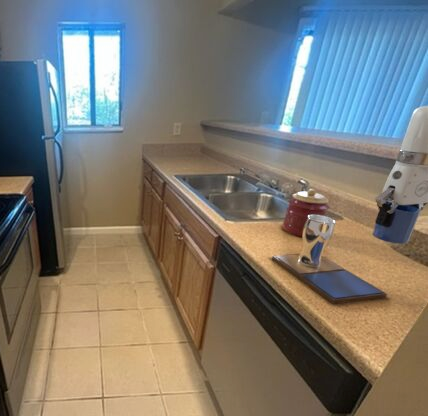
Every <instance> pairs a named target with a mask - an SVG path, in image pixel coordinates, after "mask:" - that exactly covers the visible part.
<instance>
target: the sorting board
mask: <svg viewBox="0 0 428 416" xmlns="http://www.w3.org/2000/svg"><path fill="white" fill-rule="evenodd" d="M299 254H300V253H290V254H279V255H272V257H271V260H272V261H274V263H276V264H278V265H279V266H280V267H282V268H283V269H284V270H285V271H287V272H288V273H290V274H291V275H293V276H294V277H295V278H297V279H298V280H299V281H301V282H302V283H304V284H305V285H306V286H307V287H309V288H310V289H312V290H313V291H314V292H316V293H317V294H318V295H320V296H321V297H322V298H324V299H325V300H326V301H328V302H329V303H330V304H332V305H334V304H342V303H350V302H351V303H353V302H358V301H359V302H360V301H367V300H376V299H384V298H387V296H388V293H386V292H385V291H383V290H381V289H380V288H378V287H376V286H374V285H373V284H371V283H369V282H367V281H366V280H365V279H363V278H361V277H359V276H358V275H356V274H354V273H352V272H351V271H349V270H347V269H346V268H344V267H342V266H340V265H338V264H337V263H335V262H334V261H332V260H330V259H329V258H327V257H325V256H324V255H322V257H321V266H320V267H309V266H305V265H303V264H301V263H300V262H298V260H297V258H298V256H299Z"/></svg>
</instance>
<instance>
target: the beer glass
mask: <svg viewBox="0 0 428 416" xmlns="http://www.w3.org/2000/svg"><path fill="white" fill-rule="evenodd" d="M336 222H337V221H336V220H335V219H334V218H332V217H330V216H328V215H327V216H323V215H309V216H308V218H307V221H306V223H305V226H304V229H303V235H302V237H301V249H300V252H299V253H298V254H299V256H298V258H297V260H298V262H300V263H301V264H303V265H305V266H309V267H320V266H321V257H322V256H323V254H324V252H325V251H326V248H327V247H328V245H329V243H330V242H331V240H332V238H333V234H334V231H335V225H336Z"/></svg>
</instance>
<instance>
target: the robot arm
mask: <svg viewBox="0 0 428 416" xmlns="http://www.w3.org/2000/svg"><path fill="white" fill-rule="evenodd" d="M399 149H400V150H399V152H398V154H397V157H396V160H395V164H394V165H393V167H392V168H391V171H390V172H389V175H388V176H387V179H386V181H385V184H384V186H383V188H382V192H381V193H380V194H378V195H377V196H376V197H375V198H374V201H375V202H376V206H377V210H378V213H377V216H376V219H375V224H379V225H381V226H384V227H390V225H391V222H392V220H393V217H394V213H393V211H394V210H395V209H396V208H397V207H398V205H410V206H413V207H416V208H418V209H420V210H421V212H422V211H423V210H424V207H425V206H426V205H428V105H424V106H423V105H422V106H419V107H417V108H415V109H414V111H413V112H412V114H411V118H410V119H409V123H408V126H407V129H406V132H405V134H404V138H403V140H402V143H401V146H400V148H399ZM388 203H391V204H392V205H391V207H389V205H388Z"/></svg>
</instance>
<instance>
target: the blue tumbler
mask: <svg viewBox="0 0 428 416" xmlns="http://www.w3.org/2000/svg"><path fill="white" fill-rule="evenodd" d="M388 205H389V207H391V205H392V204H391V203H388ZM421 212H422V211H421V210H420V209H418V208H416V207H413V206H410V205H398V207H397V208H396V209H395V210H394V211H393V213H394V217H393V220H392V222H391V225H390V227H384V226H381V225H379V224H376V223H375V224H374V227H373V229H372V233H371V234H372V237H374V238H376V239H378V240H380V241H383V242H388V243H391V244H400V245H401V244H402V245H403V244H408V242H409V241H410V239H411V236H412V234H413V232H414V229H415V226H416V224H417V222H418V219H419V217H420V214H421Z"/></svg>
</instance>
